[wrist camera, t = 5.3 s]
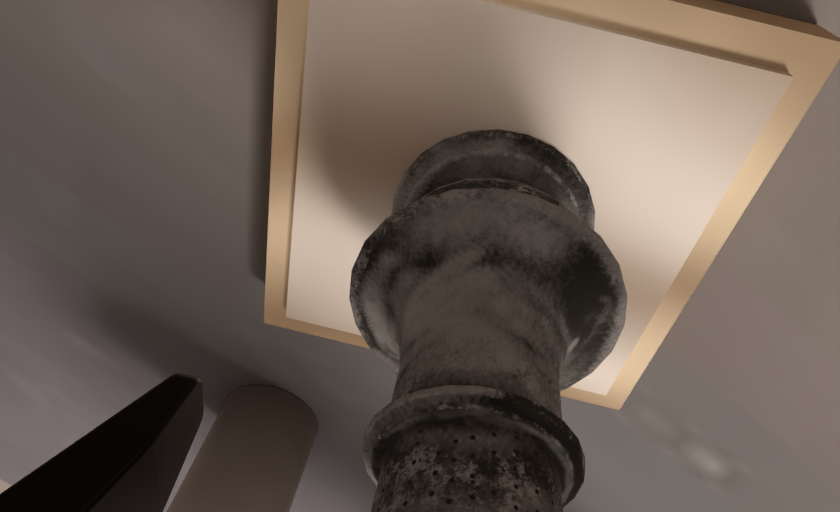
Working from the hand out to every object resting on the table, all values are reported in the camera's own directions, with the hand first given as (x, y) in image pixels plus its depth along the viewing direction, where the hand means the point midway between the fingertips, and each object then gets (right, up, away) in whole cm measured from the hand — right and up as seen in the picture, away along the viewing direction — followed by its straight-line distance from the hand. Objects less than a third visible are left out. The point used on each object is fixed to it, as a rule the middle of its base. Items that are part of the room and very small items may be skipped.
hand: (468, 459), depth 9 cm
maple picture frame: (+1, +5, +7) cm, 9 cm away
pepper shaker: (-7, -4, +15) cm, 17 cm away
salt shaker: (+1, +4, +6) cm, 8 cm away
